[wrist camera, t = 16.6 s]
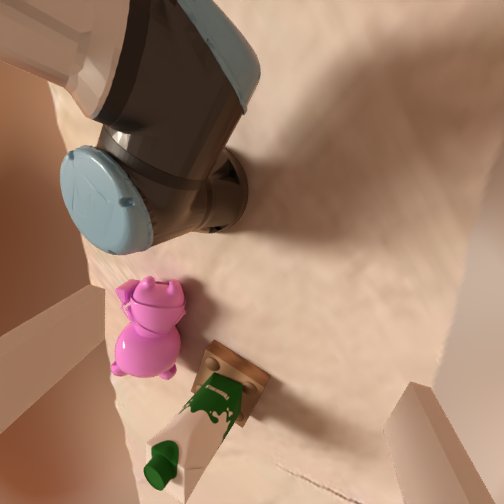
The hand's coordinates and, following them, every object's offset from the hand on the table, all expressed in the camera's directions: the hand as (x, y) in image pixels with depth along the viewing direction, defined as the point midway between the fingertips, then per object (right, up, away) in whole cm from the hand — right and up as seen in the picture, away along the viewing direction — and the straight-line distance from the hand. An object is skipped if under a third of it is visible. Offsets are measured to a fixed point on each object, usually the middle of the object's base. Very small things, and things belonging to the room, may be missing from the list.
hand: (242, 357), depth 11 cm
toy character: (-19, -10, +50) cm, 55 cm away
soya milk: (-5, -25, +44) cm, 51 cm away
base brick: (-4, -24, +48) cm, 54 cm away
